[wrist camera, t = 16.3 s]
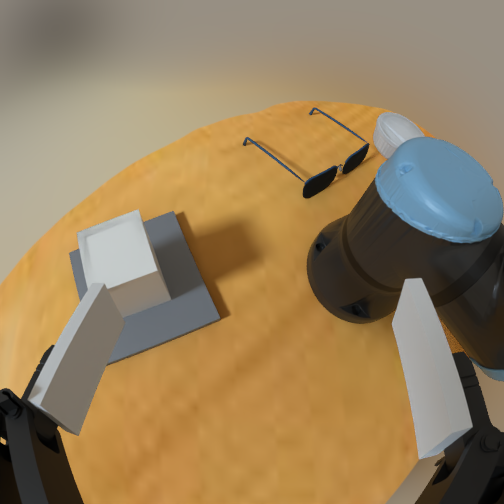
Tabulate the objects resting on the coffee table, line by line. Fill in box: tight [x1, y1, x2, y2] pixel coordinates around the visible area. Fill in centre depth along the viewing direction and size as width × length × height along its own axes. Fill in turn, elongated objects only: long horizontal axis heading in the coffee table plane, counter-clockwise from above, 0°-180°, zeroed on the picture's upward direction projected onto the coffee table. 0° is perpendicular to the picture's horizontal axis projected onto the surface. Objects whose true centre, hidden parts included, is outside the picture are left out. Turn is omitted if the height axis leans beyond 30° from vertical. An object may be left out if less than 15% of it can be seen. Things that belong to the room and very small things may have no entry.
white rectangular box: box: [77, 210, 171, 318], centre depth 31 cm, size 7×7×10 cm
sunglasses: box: [243, 108, 369, 198], centre depth 49 cm, size 17×15×5 cm
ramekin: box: [373, 112, 425, 159], centre depth 52 cm, size 11×11×5 cm
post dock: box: [69, 211, 220, 366], centre depth 33 cm, size 16×16×8 cm
